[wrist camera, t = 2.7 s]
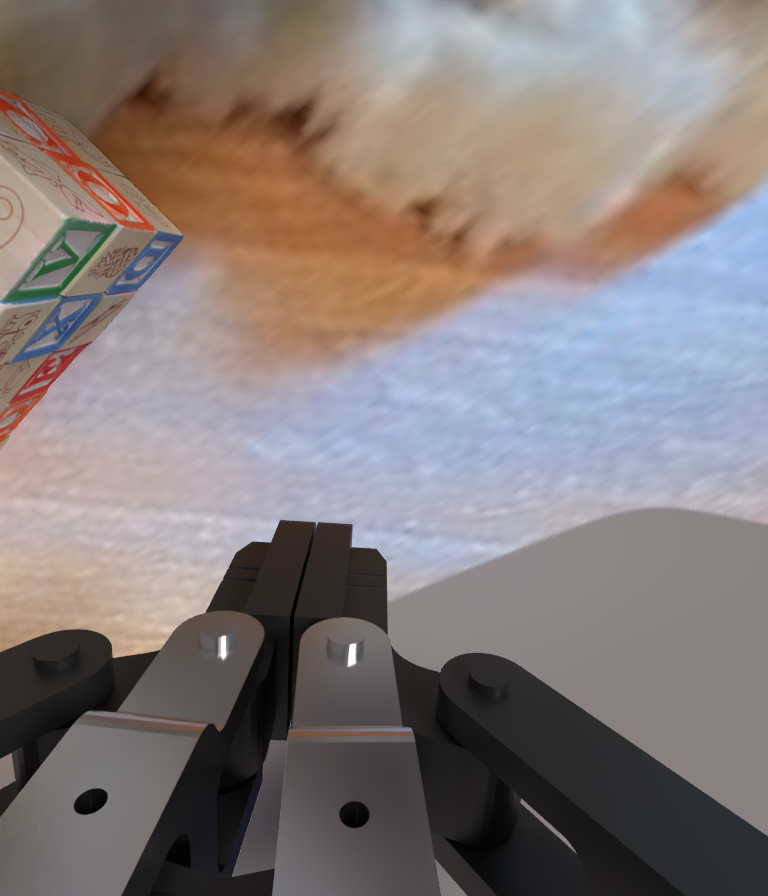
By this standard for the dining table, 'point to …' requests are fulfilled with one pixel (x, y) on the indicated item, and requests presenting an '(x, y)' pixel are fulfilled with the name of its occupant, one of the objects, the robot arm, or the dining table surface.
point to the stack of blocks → (63, 249)
